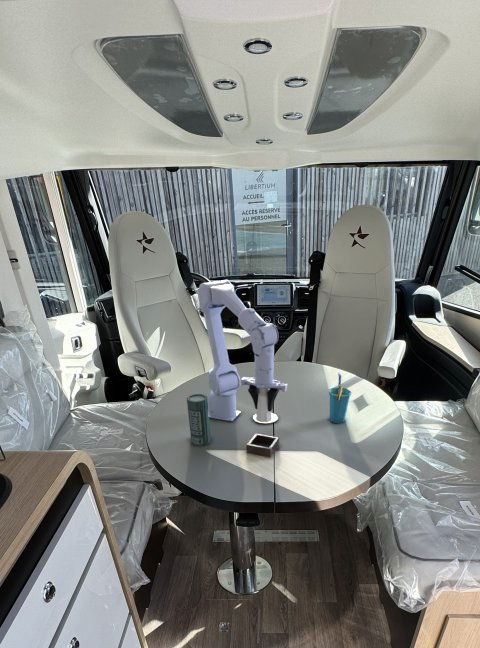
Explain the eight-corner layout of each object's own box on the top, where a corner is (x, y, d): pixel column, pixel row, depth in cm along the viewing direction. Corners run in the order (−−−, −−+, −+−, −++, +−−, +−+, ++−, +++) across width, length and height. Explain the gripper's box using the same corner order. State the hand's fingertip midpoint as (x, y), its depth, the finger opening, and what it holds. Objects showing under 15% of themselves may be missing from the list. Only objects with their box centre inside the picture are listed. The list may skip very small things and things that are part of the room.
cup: (324, 410, 164) (327, 370, 155) (345, 410, 164) (349, 371, 155) (327, 427, 152) (332, 386, 144) (350, 427, 152) (355, 386, 143)
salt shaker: (252, 416, 144) (252, 384, 137) (268, 414, 145) (268, 381, 139) (259, 423, 140) (259, 390, 133) (274, 420, 141) (275, 388, 135)
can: (213, 437, 146) (210, 395, 137) (205, 446, 142) (201, 402, 133) (196, 434, 148) (192, 392, 139) (188, 443, 143) (183, 400, 134)
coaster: (249, 421, 156) (249, 420, 156) (258, 411, 163) (258, 410, 163) (273, 425, 153) (273, 424, 153) (281, 415, 160) (281, 414, 160)
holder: (246, 453, 138) (246, 444, 137) (255, 441, 144) (255, 433, 143) (270, 457, 136) (270, 449, 134) (278, 445, 142) (279, 437, 140)
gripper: (236, 368, 131) (237, 410, 139) (282, 375, 127) (281, 418, 135) (245, 360, 137) (246, 401, 145) (290, 367, 133) (288, 408, 141)
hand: (263, 409), depth 140 cm, fingers closed on salt shaker, 4 cm apart
